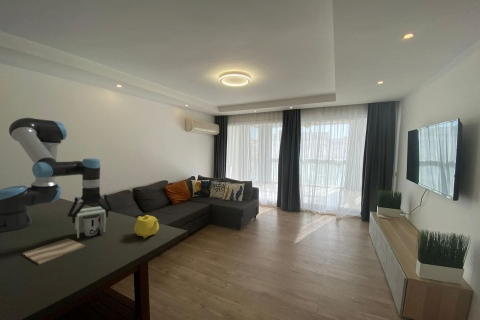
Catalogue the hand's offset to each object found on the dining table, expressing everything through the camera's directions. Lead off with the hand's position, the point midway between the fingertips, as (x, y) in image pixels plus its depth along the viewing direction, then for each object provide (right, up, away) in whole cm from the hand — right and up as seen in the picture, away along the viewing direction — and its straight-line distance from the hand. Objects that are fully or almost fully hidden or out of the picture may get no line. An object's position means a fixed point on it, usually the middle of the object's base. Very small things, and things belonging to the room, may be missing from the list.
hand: (91, 225), depth 103 cm
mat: (-2, -5, -17) cm, 18 cm away
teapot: (+31, -6, +1) cm, 31 cm away
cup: (0, -5, 0) cm, 5 cm away
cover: (0, -3, 0) cm, 3 cm away
